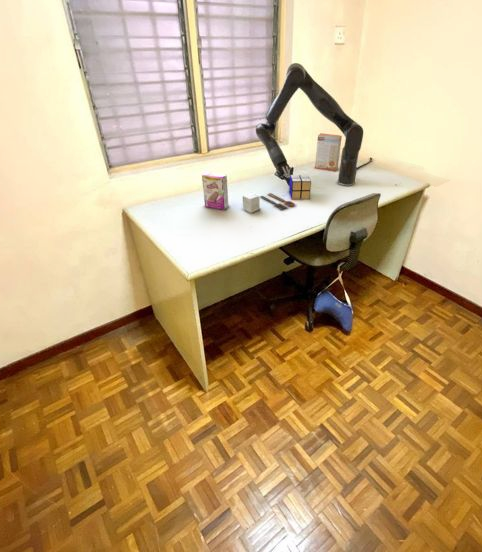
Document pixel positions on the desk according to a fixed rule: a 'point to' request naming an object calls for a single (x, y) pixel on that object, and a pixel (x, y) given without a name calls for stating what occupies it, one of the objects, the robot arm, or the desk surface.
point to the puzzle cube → (299, 187)
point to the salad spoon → (287, 203)
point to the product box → (251, 202)
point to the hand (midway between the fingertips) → (291, 185)
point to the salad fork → (274, 203)
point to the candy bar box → (215, 190)
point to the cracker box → (328, 151)
